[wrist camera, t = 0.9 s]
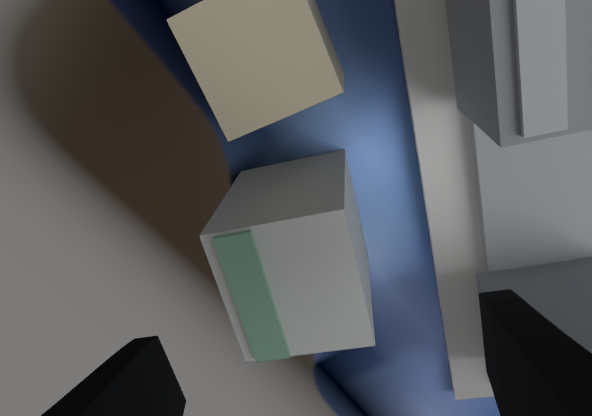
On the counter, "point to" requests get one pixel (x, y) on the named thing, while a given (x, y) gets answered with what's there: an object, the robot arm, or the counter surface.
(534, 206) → the din rail
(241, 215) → the block
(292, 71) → the block
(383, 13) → the counter surface
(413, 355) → the counter surface
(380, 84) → the counter surface
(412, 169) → the counter surface
